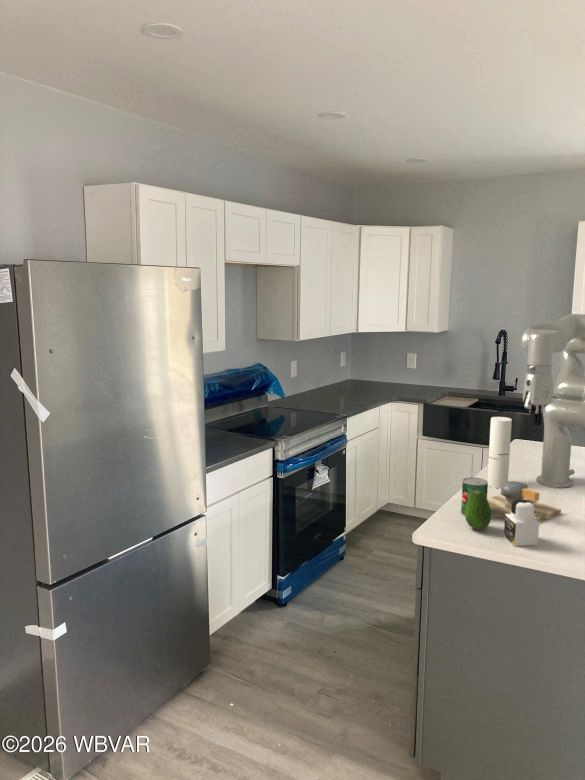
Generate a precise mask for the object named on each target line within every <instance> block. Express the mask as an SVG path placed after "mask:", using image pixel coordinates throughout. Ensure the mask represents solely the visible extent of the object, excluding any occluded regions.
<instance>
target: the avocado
mask: <svg viewBox="0 0 585 780" xmlns="http://www.w3.org/2000/svg"><path fill="white" fill-rule="evenodd" d="M487 499H488V497H487V498H486V496H485V494H484V493H483V492H481V491H478V490H476V491H473V492H471V493H470V495H469V497H468V500H467V504H466V507H465V516H464V517H465V520H466V523H467V525H468V526H469V527H470V528H472V529H475V530H483V529H485V528H487V527H488V526H489V525H490V523H491V520H492V513H491V508H490V505H489V503H488V500H487Z"/></svg>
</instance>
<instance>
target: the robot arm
mask: <svg viewBox="0 0 585 780" xmlns="http://www.w3.org/2000/svg"><path fill="white" fill-rule="evenodd" d="M520 345H521V347H522V349H523V350H525V351H527V361H526V363H527V364H526V375H525V378H524V382H523V383H524V384H523V392H522V402H523V404H524V409H528V412H529V413H530V414H529V415H530V416H529V424H530V425H533V426H536V427H537V426H541V425H542V419H543V441H542V442H543V445H542V455H541V459H542V461H541V473H540V475H537V477H536V478H535V479H536V482H537V483H539V484H540V485H543V486H546V487H550V488H561V489H562V488H569V487H572V486H573V485H574V481H573V479H571V478H570V476H572V475H574V474H575V472H576V471H575V470H574V469H573V468H572V469H570V464H571V453H572V443H573V442H572V435H571V432H570V430H569V429H568V428H567V427H571V428H572V427H573V428H577V429H578V428H579V429H585V375H584V374H585V364H584V362H583V360H582V359H581V358H580V357H579V356H578V355H577V354H585V314H584V313H583V314H581V313H580V314H579V313H578V314H577V313H569V314H566V315H564V316H562V317H560V318H558V319H557V320H554V321H548V322H543V323H538V324H535V325H534V324H533V325H530V326H529V327H527V328H526V329H525V330H524V331H523V333H522V335H521V339H520ZM553 354H558V355H559V356H558V357H559V360H560V368H559V372H558V373H557V374H558V375H557V378H556V381H555V384H554V378H553V373H552V369H553V368H552V366H553ZM554 396H555V397H556V398H554ZM542 416H543V418H542Z"/></svg>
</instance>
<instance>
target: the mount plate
mask: <svg viewBox="0 0 585 780" xmlns="http://www.w3.org/2000/svg"><path fill="white" fill-rule="evenodd" d="M523 499H524V500H528V501H530V502H532V503H533V504H534V514H533V518H535V519H536V520H537V521H538V522H539V523H540V522H542V521H544V520H547V519H550V518H553V517H556V516H559V515H561V513H562V509H560V508H558V507H554V506H552V505H548V504H546V503H542V502H539V501H532V500H529V499H526V498H523ZM487 500H488V503H489V505H490V508H491V515H495V516H498V517H500V518H503V519H505V514H511V507H512V502H513V501H514V500H517V499H513V498H508V497H505V496H503V495H501V494H498V495H496V496H491V497H489V498H488V497H487ZM558 514H559V515H558Z"/></svg>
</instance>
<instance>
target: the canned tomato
mask: <svg viewBox="0 0 585 780" xmlns="http://www.w3.org/2000/svg"><path fill="white" fill-rule="evenodd" d="M488 488H489V486H488V479H485V478H481V477H465V478H463V479H462V488H461V505H460V506H461V507H460V510H461V511H460V514H461V515H462V516H464V517H465V507H466V504H467V500H468V497H469V495H470V493H471V492H473V491H476V490H478V491H481V492H483V493H484V494H485V496H486V498H487V499H488V491H489V490H488Z"/></svg>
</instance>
